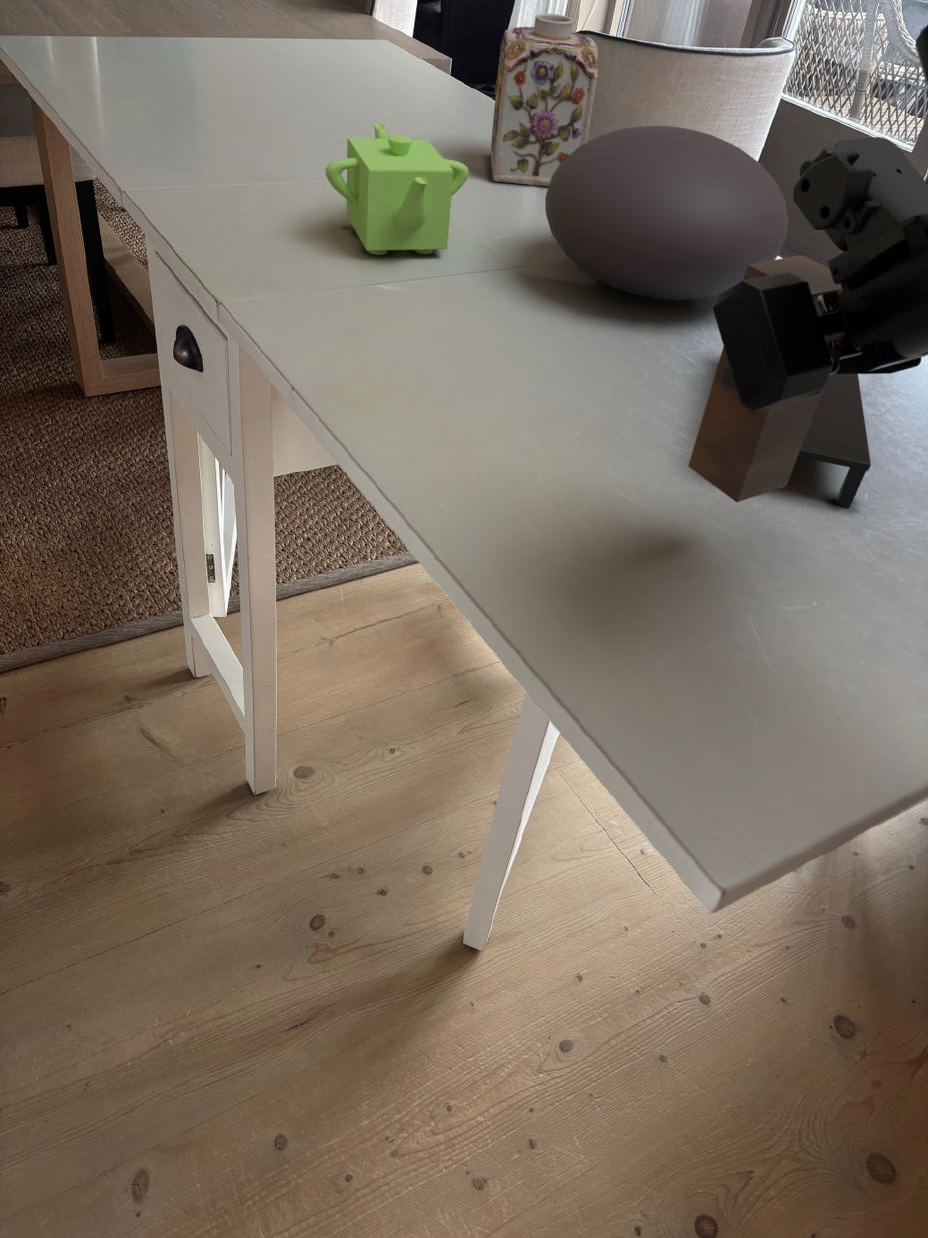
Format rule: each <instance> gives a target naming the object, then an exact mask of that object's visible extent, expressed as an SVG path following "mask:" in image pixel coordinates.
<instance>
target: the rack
mask: <svg viewBox="0 0 928 1238" xmlns="http://www.w3.org/2000/svg"><path fill="white" fill-rule="evenodd" d="M862 400H863V399H862V393H861V385H860V380H859V374H832V375H830V376H829V378H828V380H827V383H826V385H825V388H824V389H823V391H822V393H821V396H820V399H819V401H818V404H817V407H816V409H815V412H814V415H813V417H812V420H811V422H810V425H809V428H808V430H807V433H806V436H805V438H804V441H803V443H802V446H801V449H800V451H799V454H798V457H797V458H803V459H808V460H813V461H818V462H822V463H826V464H831V465H837V466H840V467H846V468H848V470H847V473H846V475H845V477H844V480H843V482H842V484H841V487H840V489H839V491H838V493H837V496H836V497H835V499H836V505H837V506H840V507H843V508H851V506H852V504H853V502H854V499H855V497H856V495H857V493H858V490H859V488H860V486H861V484H862V482H863V480H864V477H865V475H866V472H869V470H870V469H871V465H872V462H871V454H870V448H869V443H868V442H869V441H868V434H867V427H866V422H865V421H866V420H865V413H864V407H863V401H862Z"/></svg>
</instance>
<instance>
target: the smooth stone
mask: <svg viewBox="0 0 928 1238" xmlns="http://www.w3.org/2000/svg"><path fill="white" fill-rule="evenodd" d="M778 184H779V183H777V181H776V180H775V178H773V176H772V175H771V174H770V173H769V172H768V171H767V169H765V167H764V166H763V164H761V163H760V162H759V161H757V160H756V159H755V158H754V157H752V156H751V155H750V154H748V153H747V152H746V151H744V150H743V149H741V148H740V147H738V146H736V145H735V144H732V143H730V142H728V141H726V140H724V139H722V138H719V137H717V136H714V135H713V134H709V133H706V132H703V131H699V130H695V129H692V128H691V129H690V128H685V127H680V126H672V125H671V126H669V125H646V126H633V127H626V128H621V129H618V130H613V131H611V132H607V133H603V134H602V135H599V136H596V137H594V138H592V139H591V140H589V141H587V143H585V144H583V145H581V146H579V147H578V148H577V149H576V150H575V151H574V152H573V153H571V154H570V155H569V156H568V157H567V158H566V159H565V160H563V161H562V162H561V163H560V165H559V166H558V168H557V169H556V171H555V172H554V174H553V175H552V178H551V181H550V184H549V187H548V186H547V190H546V193H545V198H544V199H545V200H544V202H545V203H544V205H545V206H544V207H545V209H544V210H545V217H546V219H547V223H548V226H549V230H550V233H551V235H552V236H553V238H554V239H555V241H556V242H557V244H558V246H559V247H560V248H561V250H562V251H563V253H564V254H565V255H566V256H567V257H568V258H569V259H570V260H571V261H572V262H573V263H574V264H575V265H576V266H578V267H579V268H580V269H581V270H583V272H585V273H586V274H588V275H590V276H591V277H593V278H594V279H597V280H598V281H600V282H602V283H604V284H607V285H608V286H611V287H613V288H615V289H617V290H620V291H624V292H626V293H630V294H633V295H637V296H640V297H645V298H651V299H658V300H659V299H660V300H669V301H671V300H674V301H675V300H676V301H677V300H678V301H679V300H681V301H682V300H683V301H684V300H693V299H703V298H710V297H714V296H717V295H719V294H721V293H722V292H724V291H726V290H727V289H729V288H731V287H732V286H734V285H736V284H737V283H739V282H741V281H743V278H744V275H745V272H746V268H747V265H748V264H754V263H760V262H765V261H771V260H777V259H778V256H779V253H780V252H781V250H782V248H783V246H784V245H785V241H786V238H787V233H788V228H789V215H788V209H787V204H786V200H785V197H784V195H783V193H782V191H781V189H780V187H779V185H778Z"/></svg>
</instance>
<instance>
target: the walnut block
mask: <svg viewBox="0 0 928 1238" xmlns="http://www.w3.org/2000/svg"><path fill="white" fill-rule="evenodd" d="M786 272H790V273H792V274H794V275H796V276H797V277H799V278H801V279H803V280H805V281H807V282H808V285H809V288H810V291H811V295H812V298H813V301H814V304H815V308H816V311H817V313H818V316H822V315H823V314H822V312H821V310H820V308H819V304H818V300H817V299H818V297H819V296H820V295H822V294H824V293H829V292H834V291H839V290H842V287H841V284H835V283H834V282H833V278H832V275H831V272H830V268H829V266H826V265H824V264H822V263H819V262H818V261H816V260H813V259H811V258H809V257H807V256H805V255H803V254H800V255H794V256H788V257H784V258H776V259H775V260H771V261H765V262H760V263H754V264H748V265H747V268H746V272H745V275H744V278H743V280H748V279H753V278H759V277H764V276H770V275H775V274H780V273H786ZM836 312H838V311H836ZM836 312H831V313H836ZM831 313H826V314H824V315H827V314H831ZM842 338H843V336H841V337H836V338H832V339H828V340H826V342H827V346H828V343H829V342H831V341H836V340H838V339H839V340H840V339H842ZM728 363H729V361H728V358H727V355H726V351H725V348H724V346H722V350H721V354H720V357H719V361H718V364H717V367H716V371H715V375H714V378H713V381H712V383H711V388H710V392H709V394H708V398H707V401H706V404H705V408H704V411H703V415H702V418H701V422H700V425H699V428H698V432H697V436H696V439H695V442H694V446H693V449H692V453H691V455H690V456H691V457H690V460H689V462H688V468H690V469H691V470H692V471H694V472H695V473H696V474H698V475H699V476H700V477H701V478H703V479H704V480H705V481H707V482H709V483H710V484H711V485H713V486H714V487H715V488H717V489H718V490H720V492H721V493H723V494H725V495H726V496H727V497H729V498H730V499H731V500H733V501H734V502H735V503H740V502H743V501H746V500H749V499H751V498H755V497H757V496H758V497H759V496H760V495H763V494H767V493H770V492H773V491H775V490H779V489H782V488H784V487H787V485H788V483H789V479H790V478H791V475H792V472H793V470H794V467H795V464H796V462H797V459H798V458H799V457H798V454H799V451H800V449H801V446H802V443H803V441H804V438H805V436H806V433H807V430H808V428H809V425H810V422H811V420H812V417H813V415H814V412H815V409H816V407H817V404H818V401H819V399H820V396H821V393H822V391H823V389H822V390H821V393H818V394H815V395H811V396H807V397H804V398H800V399H796V400H793V401H791V402H788V403H784V404H781V405H777V406H773V407H770V408H766V409H762V410H759V411H755V412H752V411H750V410H749V409H748V408H746V407H745V406H744V405H743V404H742V403H741V400H740V397H739V394H738V390H733V389H727V388H725V386H724V383H723V380H722V377H721V371H722V370H723V368H724V367H725V366H726V365H727V364H728Z"/></svg>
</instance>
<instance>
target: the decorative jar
mask: <svg viewBox="0 0 928 1238" xmlns="http://www.w3.org/2000/svg"><path fill="white" fill-rule="evenodd" d="M534 18H535V19H534V25H533V26H519V27H518V26H517V27H514V28H510V29H505V31H504V33H503V35H502V39H501V42H500V47H499V49H500V53H499V54H500V55H499V63H498V70H497V75H496V81H495V99H494V109H493V116H492V118H493V119H492V129H491V141H490V142H491V143H490V161H491V171H492V180H493V182H497V183H498V182H499V183H510V184H520V185H530V186H540V187H547V188H548V187H549V184H550V181H551V178H552V175H553V174H554V172H555V171H556V169H557V168H558V166H559V165H560V163H561V162H562V161H563V160H565V159H566V158H567V157H568V156H569V155H570V154H571V153H573V152H574V151H575V150H576V149H577V148H578V147H579V146H581V145H583V144H585V143H587V142H588V140H589V133H590V126H591V118H592V113H593V107H594V102H595V100H594V99H595V94H596V88H597V80H598V77H599V61H598V56H599V51H598V45H597V42H596V41H595V40H594V39H592V38H590V37H588V36H585V35H584V34H582V33H577V32H575V31H573V26H574V20H573V19H572V17H569V16H566V15H563V14H558V13H539V14H536V16H535V17H534Z"/></svg>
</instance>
